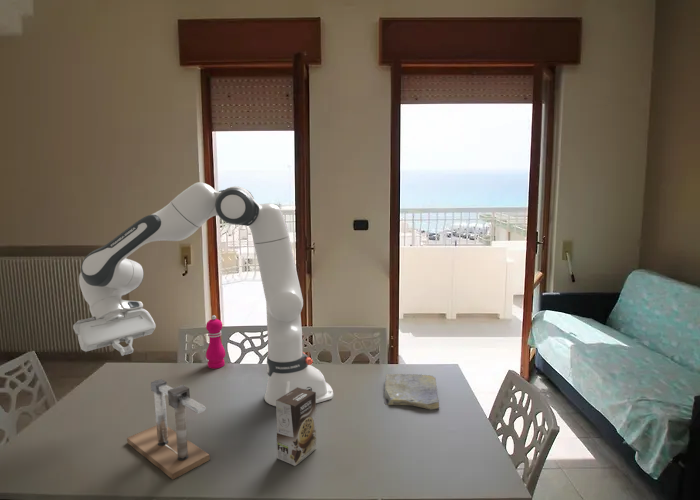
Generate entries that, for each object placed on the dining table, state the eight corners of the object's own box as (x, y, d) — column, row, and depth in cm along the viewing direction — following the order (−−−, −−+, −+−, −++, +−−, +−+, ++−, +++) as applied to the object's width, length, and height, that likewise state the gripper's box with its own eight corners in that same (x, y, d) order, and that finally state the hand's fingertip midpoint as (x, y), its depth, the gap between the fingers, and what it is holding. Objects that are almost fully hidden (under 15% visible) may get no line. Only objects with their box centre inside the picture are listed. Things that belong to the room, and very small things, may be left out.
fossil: (384, 412, 141) (440, 412, 139) (383, 398, 141) (439, 398, 139) (386, 386, 161) (435, 385, 159) (385, 373, 161) (434, 372, 159)
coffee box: (296, 467, 113) (294, 406, 110) (276, 458, 116) (274, 399, 114) (317, 448, 120) (316, 391, 118) (298, 441, 124) (297, 385, 121)
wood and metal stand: (127, 442, 123) (121, 374, 120) (162, 427, 131) (157, 362, 128) (172, 479, 108) (167, 401, 105) (209, 460, 116) (205, 386, 113)
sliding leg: (155, 442, 120) (150, 382, 118) (165, 437, 122) (161, 378, 120) (199, 475, 107) (196, 408, 104) (210, 469, 109) (206, 404, 106)
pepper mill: (220, 369, 171) (217, 318, 168) (202, 368, 172) (200, 317, 169) (229, 362, 178) (226, 313, 175) (212, 361, 179) (209, 312, 176)
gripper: (73, 315, 123) (90, 358, 118) (146, 300, 138) (165, 338, 134) (68, 328, 126) (85, 370, 122) (141, 312, 142) (158, 348, 137)
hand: (127, 353), depth 128 cm, fingers closed
